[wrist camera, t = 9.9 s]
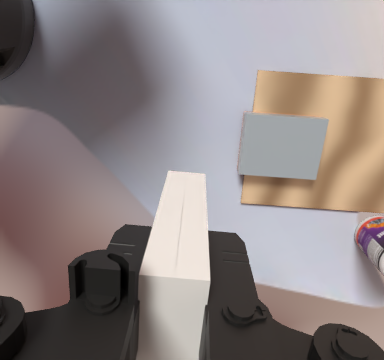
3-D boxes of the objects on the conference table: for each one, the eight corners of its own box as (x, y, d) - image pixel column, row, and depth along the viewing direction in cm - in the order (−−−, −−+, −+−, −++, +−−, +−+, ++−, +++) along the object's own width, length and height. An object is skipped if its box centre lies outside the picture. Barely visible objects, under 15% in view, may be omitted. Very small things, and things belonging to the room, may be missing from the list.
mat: (240, 201, 40) (241, 202, 40) (257, 70, 34) (258, 70, 34) (411, 214, 40) (413, 215, 40) (457, 83, 34) (459, 84, 34)
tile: (238, 174, 36) (315, 179, 36) (246, 113, 34) (328, 119, 34) (236, 168, 38) (310, 174, 38) (243, 111, 36) (322, 116, 36)
